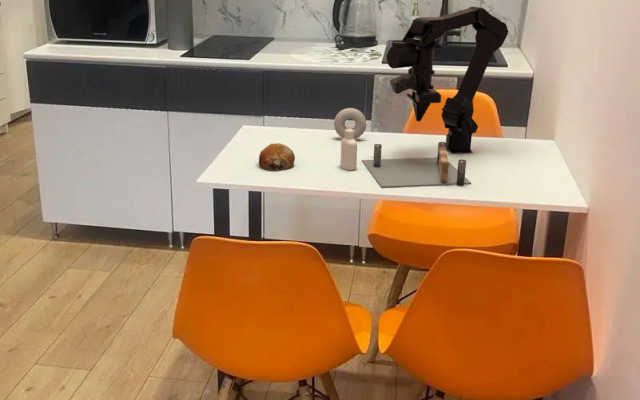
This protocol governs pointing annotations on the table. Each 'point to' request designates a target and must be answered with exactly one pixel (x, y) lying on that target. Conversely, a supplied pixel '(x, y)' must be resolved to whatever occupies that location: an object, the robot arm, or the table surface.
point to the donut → (350, 114)
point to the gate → (443, 163)
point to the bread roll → (276, 157)
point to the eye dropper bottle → (349, 150)
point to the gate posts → (441, 144)
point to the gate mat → (411, 172)
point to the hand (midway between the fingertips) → (418, 121)
